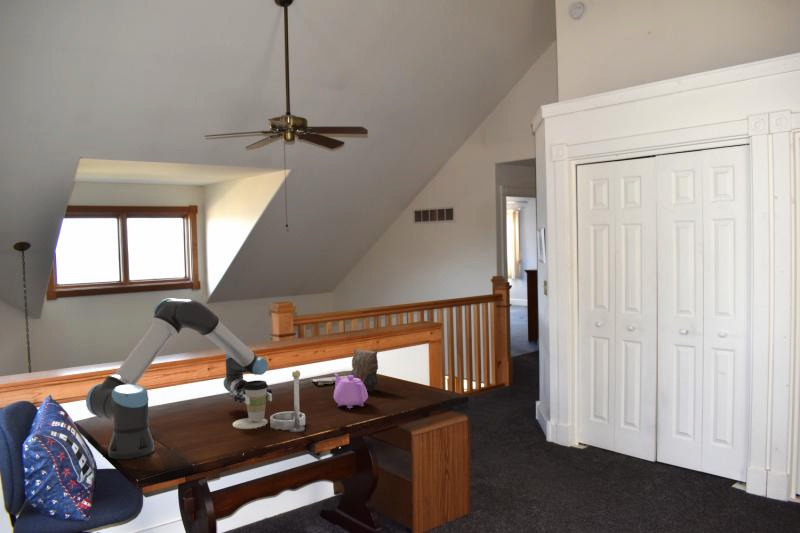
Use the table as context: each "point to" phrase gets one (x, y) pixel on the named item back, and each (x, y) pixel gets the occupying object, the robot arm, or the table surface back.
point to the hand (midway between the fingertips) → (259, 399)
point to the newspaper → (327, 380)
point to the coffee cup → (256, 399)
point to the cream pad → (249, 423)
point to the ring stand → (290, 413)
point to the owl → (365, 367)
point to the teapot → (350, 391)
